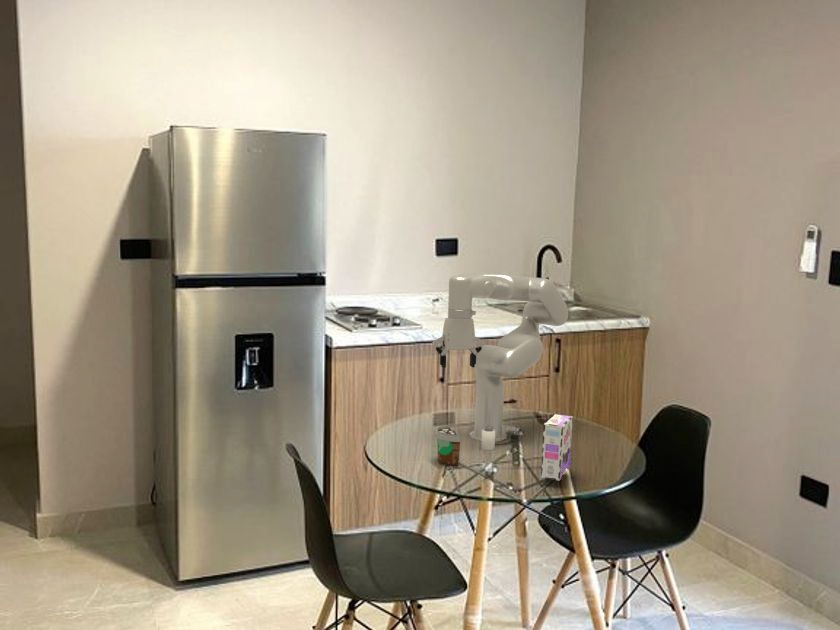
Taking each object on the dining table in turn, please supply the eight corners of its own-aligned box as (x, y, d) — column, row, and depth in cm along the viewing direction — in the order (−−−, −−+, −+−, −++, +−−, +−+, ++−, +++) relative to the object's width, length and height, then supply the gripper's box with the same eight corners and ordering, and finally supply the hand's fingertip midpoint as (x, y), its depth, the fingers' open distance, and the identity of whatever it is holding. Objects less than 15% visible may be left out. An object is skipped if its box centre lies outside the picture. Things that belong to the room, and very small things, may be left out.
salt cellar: (492, 446, 281) (493, 424, 280) (496, 450, 276) (497, 428, 276) (479, 446, 280) (480, 425, 279) (483, 450, 275) (484, 428, 275)
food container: (429, 456, 267) (430, 425, 266) (448, 455, 269) (449, 424, 267) (440, 468, 255) (441, 435, 254) (459, 467, 257) (461, 435, 255)
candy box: (559, 481, 247) (562, 425, 244) (540, 478, 249) (542, 423, 247) (570, 468, 259) (573, 415, 257) (551, 465, 261) (554, 413, 259)
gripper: (481, 312, 280) (479, 364, 282) (430, 313, 276) (429, 365, 278) (489, 316, 272) (486, 368, 275) (436, 316, 268) (434, 369, 271)
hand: (457, 366), depth 276 cm, fingers open, 9 cm apart
